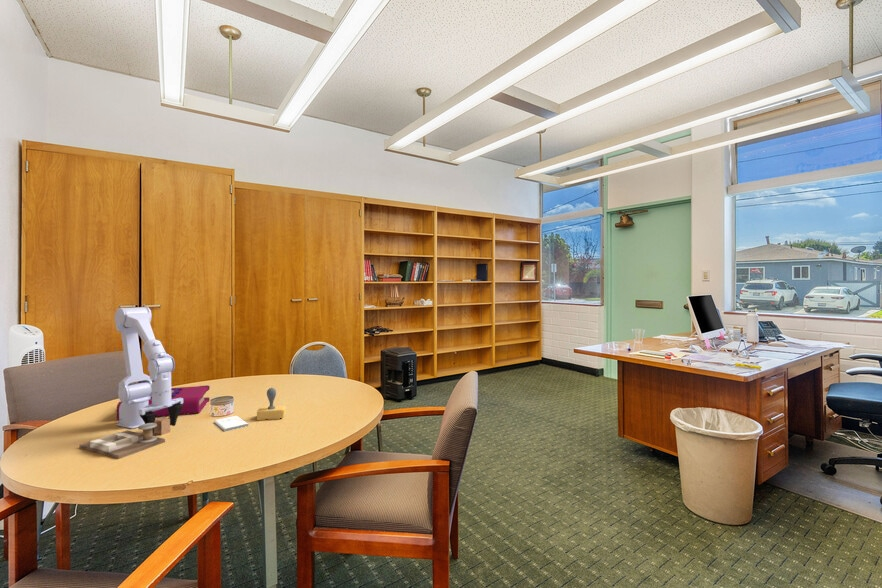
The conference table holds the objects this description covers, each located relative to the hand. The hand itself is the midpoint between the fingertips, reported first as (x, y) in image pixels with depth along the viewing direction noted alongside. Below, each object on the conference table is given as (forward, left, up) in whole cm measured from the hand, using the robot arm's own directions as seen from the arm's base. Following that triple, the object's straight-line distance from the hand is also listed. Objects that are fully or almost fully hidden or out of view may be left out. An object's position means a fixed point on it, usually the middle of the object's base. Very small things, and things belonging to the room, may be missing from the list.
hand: (162, 428), depth 143 cm
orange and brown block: (0, 0, -2) cm, 2 cm away
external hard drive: (+15, +16, -2) cm, 22 cm away
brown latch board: (-1, -12, -1) cm, 12 cm away
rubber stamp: (+23, +28, -2) cm, 36 cm away
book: (-24, +18, -2) cm, 30 cm away
